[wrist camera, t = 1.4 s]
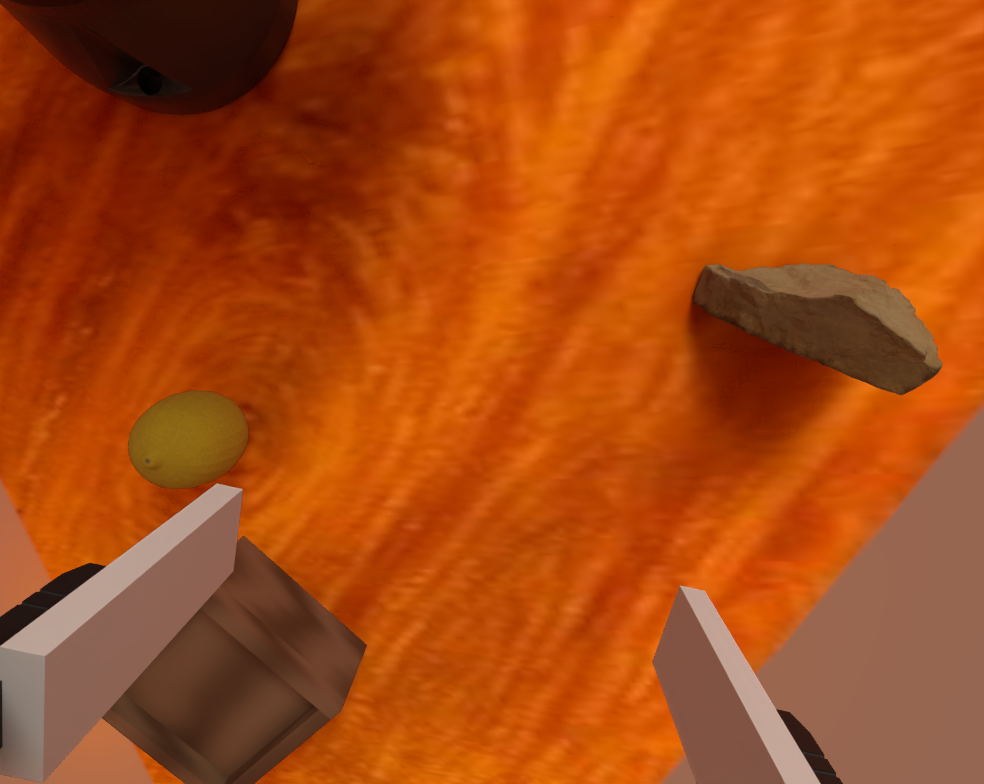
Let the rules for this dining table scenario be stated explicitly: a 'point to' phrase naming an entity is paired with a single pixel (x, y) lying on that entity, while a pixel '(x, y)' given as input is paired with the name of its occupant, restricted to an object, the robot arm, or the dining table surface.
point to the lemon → (188, 439)
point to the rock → (827, 320)
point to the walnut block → (241, 679)
